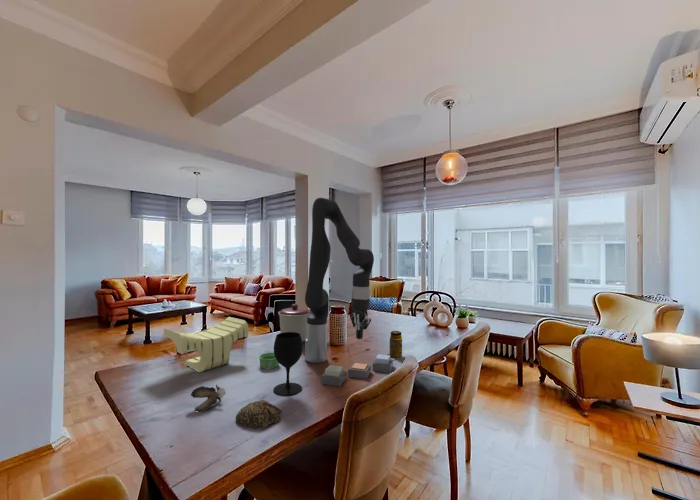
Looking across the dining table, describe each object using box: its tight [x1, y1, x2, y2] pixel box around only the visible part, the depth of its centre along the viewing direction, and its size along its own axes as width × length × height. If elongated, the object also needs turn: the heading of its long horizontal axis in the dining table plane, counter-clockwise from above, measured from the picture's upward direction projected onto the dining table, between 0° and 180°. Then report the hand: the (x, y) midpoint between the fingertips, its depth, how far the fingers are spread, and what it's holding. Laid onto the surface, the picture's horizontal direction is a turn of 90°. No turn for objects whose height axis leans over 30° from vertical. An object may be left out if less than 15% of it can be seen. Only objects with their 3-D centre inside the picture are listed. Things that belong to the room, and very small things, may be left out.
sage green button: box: [324, 364, 344, 377], centre depth 122 cm, size 5×5×3 cm
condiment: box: [386, 330, 405, 361], centre depth 151 cm, size 7×8×12 cm
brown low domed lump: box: [235, 399, 282, 429], centre depth 95 cm, size 13×12×5 cm
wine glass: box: [272, 332, 304, 397], centre depth 114 cm, size 10×10×20 cm
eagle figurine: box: [190, 384, 226, 413], centre depth 102 cm, size 8×7×9 cm
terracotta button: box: [352, 362, 369, 370], centre depth 129 cm, size 5×5×3 cm
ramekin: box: [258, 352, 280, 369], centre depth 137 cm, size 9×9×4 cm
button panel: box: [320, 358, 394, 387], centre depth 129 cm, size 11×36×3 cm, turn 123°
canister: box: [277, 303, 310, 343], centre depth 174 cm, size 18×18×21 cm
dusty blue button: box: [375, 354, 390, 365], centre depth 136 cm, size 5×5×3 cm
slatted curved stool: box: [163, 316, 249, 373], centre depth 137 cm, size 30×16×18 cm, turn 144°
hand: (359, 338), depth 129 cm, fingers closed
